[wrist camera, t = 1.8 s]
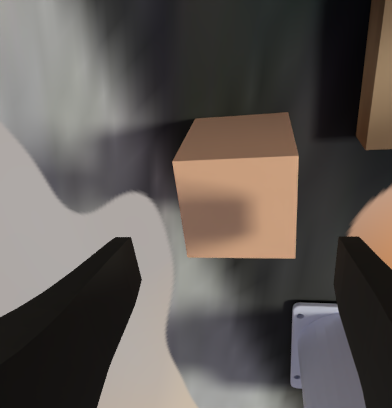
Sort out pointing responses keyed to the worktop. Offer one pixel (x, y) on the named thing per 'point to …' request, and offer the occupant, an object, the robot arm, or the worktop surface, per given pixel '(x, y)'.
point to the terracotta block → (238, 187)
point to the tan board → (377, 81)
